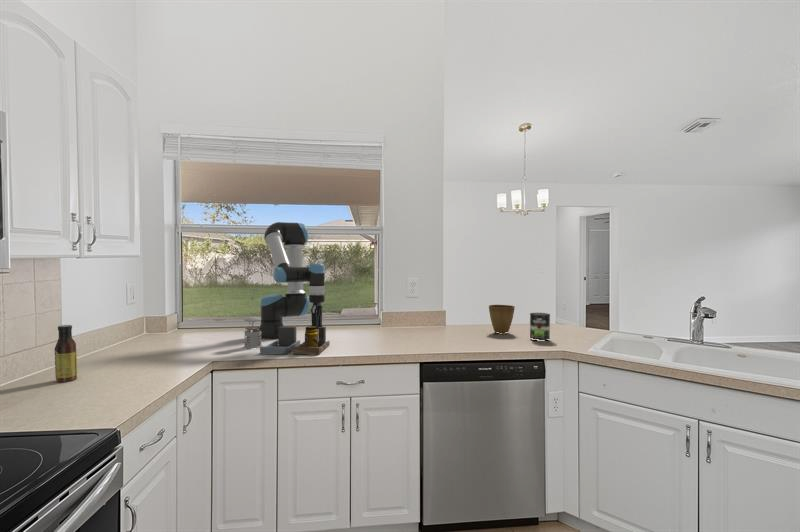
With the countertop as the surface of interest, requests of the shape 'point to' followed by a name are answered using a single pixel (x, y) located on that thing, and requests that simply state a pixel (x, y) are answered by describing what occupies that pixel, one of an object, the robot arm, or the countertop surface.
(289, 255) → the robot arm
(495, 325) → the plant pot
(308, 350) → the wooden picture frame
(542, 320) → the coffee can
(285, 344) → the grey frame
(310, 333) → the condiment
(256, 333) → the french press
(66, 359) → the sauce bottle
